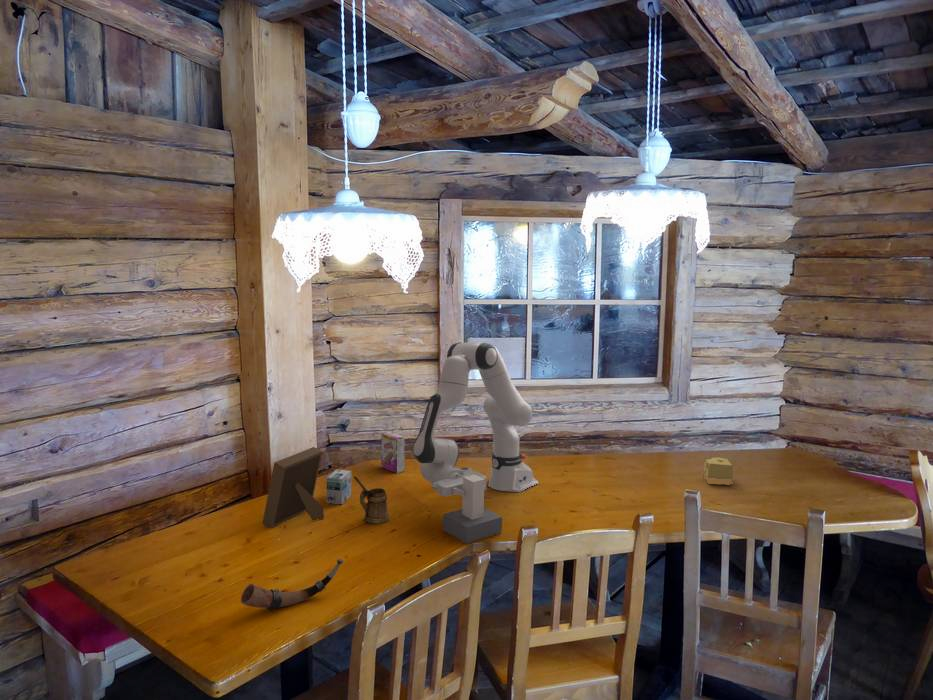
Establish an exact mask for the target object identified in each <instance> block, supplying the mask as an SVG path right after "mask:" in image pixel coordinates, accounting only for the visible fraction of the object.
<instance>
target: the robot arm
mask: <svg viewBox="0 0 933 700" xmlns="http://www.w3.org/2000/svg"><path fill="white" fill-rule="evenodd" d="M472 370H475V371H476V370H478V371H479V374H480V377H481V380H482V382H483V385H484V389H485V391H486V392H487V394H488V396H487V397H486V398H485V399H484V402H483V411H484V412H485V414H486V415H487V417H488V420H489V422H490V426H491V430H492V436H493V438H492V439H493V445H492V447H493V448H492V449H493V450H492V453H491V469H490V476H489V479H488V483H487V476H485V475H484V474H482V473H480V472H478V471H475V470H473V469H472V468H471V467H456V464H457V462H458V461H459V455H460V449H459V446H458V444H457V442H456V441H455V440H454V439H451V438H450V439H449V438H441V437H434V434H435V432H436V428H437V424H438V422H439V417H440V416H441V414H442V413H443V412H445V411H447V410H449V409H452V408H456V407H457V406H459V405H461V404H462V403H463V402H464V401H465V399H466V397H467V394H468V386H469V375H470V372H471V371H472ZM438 383H439V384H438V387H437V390H436V391H435V393H434V394H433V395H432V396H430V398H429V400H428V403H427V405H426V409H425V412H424V416H423V419H422V420H421V421H422V422H421V424H420V428H419V432H418V435H417V436H416V439H415V441H414V443H413V445H412V453H413V455H414V458H415V459H416V460H417V461H418V462H419V463H420V464H421V465H420V470H419V471H420V473H421V476H422V478H424V480H426V481H427V482H428V483H431V485H430V487H431V488H432V489H434V490H435V492H436V493H437V494H438V495H440V496H442V497H450V496H453V495H457V496H461V497H463V496H464V495H466V491H465V490H463V477H466V476H471V475H476V476H478V477H480V478H483V479H485V483H484V491H486V490H487V486H488V487H489V488H490V487H491V488H490V489H493V490H495V491H498V492H499V491H501V492H512V493H513V492H514V493H520V492H521V493H522V492H523V491H526V490H527V488H528V489H530V488H532V487H531V486H533V487H534V485H535V486H537V485H539V481H538V480H537V479H536V478H534V473H533V471H532V469H531V467H530V466H528V465H526V463H524V462H523V460H526V459H527V455H526V454H524V453H522V454H520V435H519V433H518V432H517V430H516V429H515V427H526V426H528V425H529V424H530V422H531V421H532V419H533V413H534V412H533V408H532V407H531V405H530V404H529V403H527V402H526V401H525V400H524V398H523V397H522V395H521V394H520V393H519V391H518V389H517V388H516V387H515V385H514V384H513V381H512V379H511V376H510V374H509V371H508V368H507V366H506V363H505V361H504V359H503V356H502V355H501V353H500V351H499V349H497V347H496V346H495V345H493V344H491V343H488V342H479V341H478V342H477V341H470V342H469V341H468V342H467V341H466V342H462V341H461V342H455V343H453V344H451V345H450V346H449V349H448V350H447V353H446V359H445V361H444V363H443V366H442V369H441V373H440V378H439V382H438ZM536 484H537V485H536ZM529 487H530V488H529ZM525 489H526V490H525Z"/></svg>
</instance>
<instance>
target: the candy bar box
mask: <svg viewBox="0 0 933 700" xmlns="http://www.w3.org/2000/svg"><path fill="white" fill-rule="evenodd" d="M380 436H381V439H380V440H381V446H380V447H381V448H380V451H381V452H380V453H381V454H380V456H381V457H380V459H381V465H380V468H382V469H384V470H387V471H389V472H392V473H395V474H401V473H403V471H404V472H405V458H406V457H405V454H406V453H405V451H406V450H405V449H406V448H405V445H406V443H405V442H406V437H405V436H404V435H400V434H397V433H394V432H393V431H392V432H391V431H386V432H382V433H381V435H380ZM400 472H401V473H400Z"/></svg>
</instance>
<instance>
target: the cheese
mask: <svg viewBox="0 0 933 700" xmlns="http://www.w3.org/2000/svg"><path fill="white" fill-rule="evenodd" d="M733 469H734V467H733V465H732V463H731V462H730V461H729V460H728V458H726V457H724V458H723V457H711V458H710V459H708V458H706V460H705V461H704V464H703V470H702V472H703V471H704V472H705V473H706V476H707V478H716V479H732V480H733V477H734V470H733Z"/></svg>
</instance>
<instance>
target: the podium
mask: <svg viewBox="0 0 933 700" xmlns="http://www.w3.org/2000/svg"><path fill="white" fill-rule="evenodd" d="M502 529H503V516H501V515H499V514H497V513H495V512H493V511H491V510H489V509H487V508H485V507H484V512H483V517H481V518H477V519H474V520H472V519H470V518H468V517H466V516H464V515H462V508H460V509H457V510H454V511H450V512H445V513H443V515H442V530H443V531H444V532H446V533H447V534H449V535H451V536H453V537H455V538H456V539H457V540H459V541H461V542H462V543H464V544H467V545H468V544H470V543H473V541H474V542H477V541H479V539H480V540H483V539H486V538H489V537H488V536H490V537H492V536H491V535H493V536H495V535H494V534H496V535H498V534H497V533H499V534H501V533H500V532H502ZM485 537H486V538H485ZM482 538H483V539H482ZM476 540H477V541H476Z"/></svg>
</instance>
